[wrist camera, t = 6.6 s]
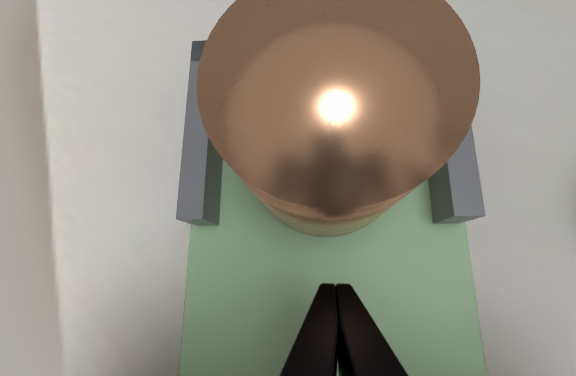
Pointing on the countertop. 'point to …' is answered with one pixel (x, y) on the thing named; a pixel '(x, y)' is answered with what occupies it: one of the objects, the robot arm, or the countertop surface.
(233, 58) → the copper metal cylinder
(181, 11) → the countertop surface
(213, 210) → the shallow gray tray
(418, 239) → the green
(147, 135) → the countertop surface
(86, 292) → the countertop surface
